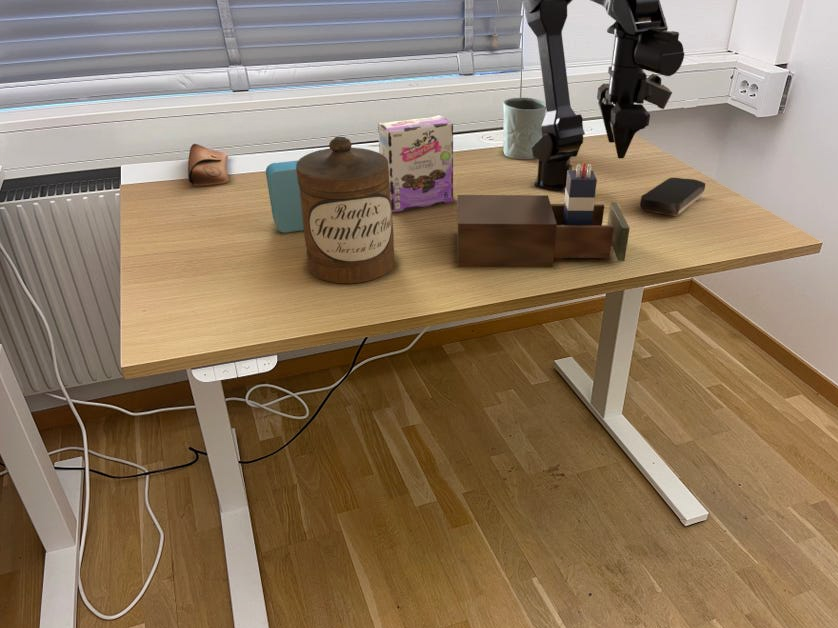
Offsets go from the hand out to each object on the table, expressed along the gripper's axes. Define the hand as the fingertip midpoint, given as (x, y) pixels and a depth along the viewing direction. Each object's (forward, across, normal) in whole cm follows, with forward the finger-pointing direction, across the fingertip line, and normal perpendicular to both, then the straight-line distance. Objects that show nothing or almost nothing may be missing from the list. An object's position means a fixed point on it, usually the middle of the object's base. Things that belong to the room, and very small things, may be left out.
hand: (616, 150), depth 135 cm
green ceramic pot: (+13, +35, +14) cm, 40 cm away
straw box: (+11, -17, +9) cm, 22 cm away
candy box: (+13, +5, +39) cm, 41 cm away
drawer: (+12, -17, +8) cm, 23 cm away
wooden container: (+13, -22, +49) cm, 55 cm away
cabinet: (+13, -17, +22) cm, 31 cm away
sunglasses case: (+13, +22, +86) cm, 89 cm away
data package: (+13, -7, +59) cm, 61 cm away
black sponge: (+13, +4, -14) cm, 20 cm away
